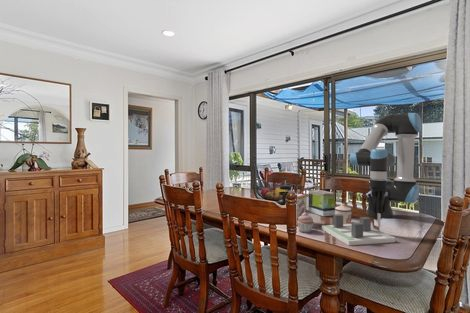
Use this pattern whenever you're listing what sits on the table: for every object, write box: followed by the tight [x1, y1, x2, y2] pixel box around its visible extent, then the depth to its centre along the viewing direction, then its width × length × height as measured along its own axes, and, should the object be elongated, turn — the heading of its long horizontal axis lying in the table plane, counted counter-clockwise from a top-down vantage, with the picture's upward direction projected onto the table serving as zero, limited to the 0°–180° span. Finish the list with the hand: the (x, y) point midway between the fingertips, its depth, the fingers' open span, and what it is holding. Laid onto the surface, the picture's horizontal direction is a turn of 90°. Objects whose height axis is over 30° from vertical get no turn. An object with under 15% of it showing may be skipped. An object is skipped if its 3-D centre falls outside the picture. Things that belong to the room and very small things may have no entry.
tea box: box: [308, 189, 336, 217], centre depth 179 cm, size 15×10×15 cm, turn 23°
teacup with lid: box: [335, 203, 353, 224], centre depth 155 cm, size 12×9×12 cm
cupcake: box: [296, 211, 315, 234], centre depth 141 cm, size 9×9×10 cm
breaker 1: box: [332, 214, 343, 227], centre depth 141 cm, size 4×3×6 cm
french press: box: [278, 176, 293, 205], centre depth 188 cm, size 12×9×23 cm
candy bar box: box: [296, 193, 308, 220], centre depth 155 cm, size 11×5×16 cm, turn 135°
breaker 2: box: [351, 221, 363, 237], centre depth 126 cm, size 4×3×6 cm
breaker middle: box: [359, 216, 372, 231], centre depth 135 cm, size 4×3×6 cm
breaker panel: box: [321, 223, 396, 246], centre depth 135 cm, size 24×24×2 cm
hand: (377, 225), depth 137 cm, fingers closed
